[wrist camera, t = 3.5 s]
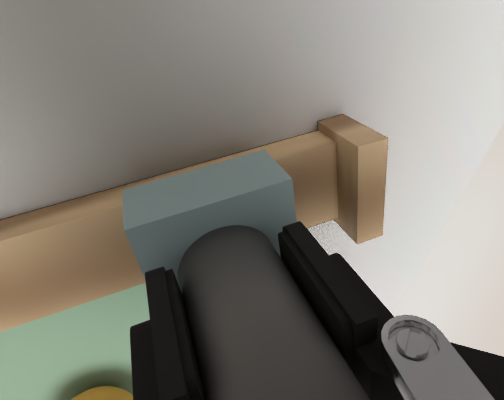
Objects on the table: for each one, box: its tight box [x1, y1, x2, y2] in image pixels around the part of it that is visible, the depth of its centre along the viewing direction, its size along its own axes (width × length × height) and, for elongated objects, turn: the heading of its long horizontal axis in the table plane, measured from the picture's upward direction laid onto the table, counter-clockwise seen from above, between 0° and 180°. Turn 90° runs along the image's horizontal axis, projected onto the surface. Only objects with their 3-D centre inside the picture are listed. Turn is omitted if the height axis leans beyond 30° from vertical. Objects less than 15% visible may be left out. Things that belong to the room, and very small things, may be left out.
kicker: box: [122, 150, 370, 400], centre depth 13 cm, size 14×5×10 cm, turn 9°
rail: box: [0, 114, 388, 332], centre depth 13 cm, size 4×23×3 cm, turn 99°
